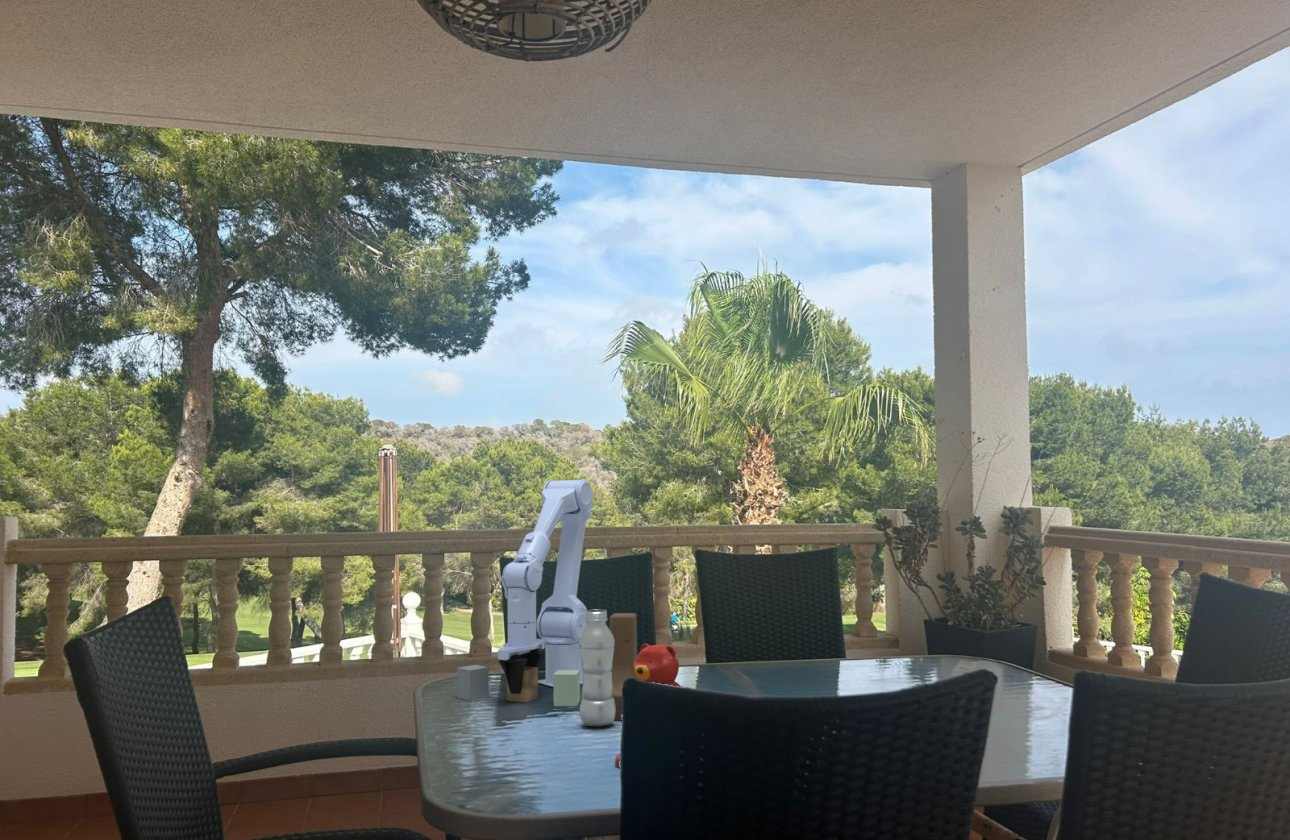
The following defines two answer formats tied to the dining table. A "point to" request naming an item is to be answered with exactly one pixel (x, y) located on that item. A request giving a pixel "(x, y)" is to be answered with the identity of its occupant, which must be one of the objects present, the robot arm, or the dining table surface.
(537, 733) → the dining table surface
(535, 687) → the walnut block
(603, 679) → the plastic bottle
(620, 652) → the wooden block
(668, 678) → the stacking bear
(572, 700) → the sage block
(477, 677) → the grey block
